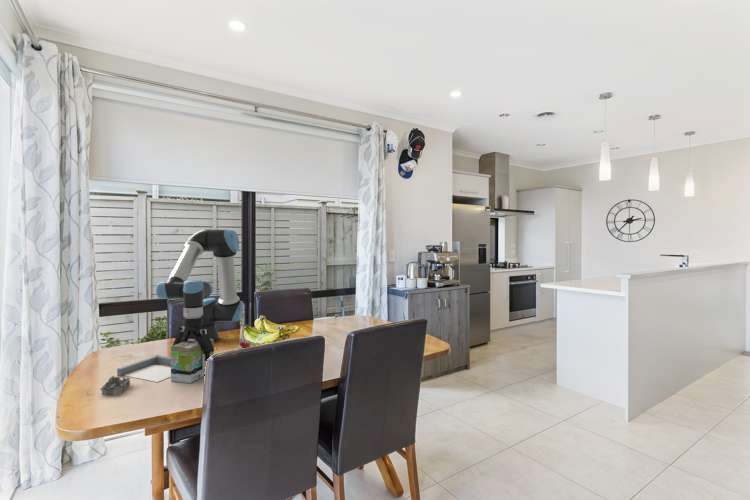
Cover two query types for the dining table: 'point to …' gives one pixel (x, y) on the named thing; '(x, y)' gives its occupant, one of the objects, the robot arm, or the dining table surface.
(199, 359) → the tea box
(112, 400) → the dining table surface
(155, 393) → the dining table surface
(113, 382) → the egg carton
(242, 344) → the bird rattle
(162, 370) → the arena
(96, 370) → the dining table surface
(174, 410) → the dining table surface
